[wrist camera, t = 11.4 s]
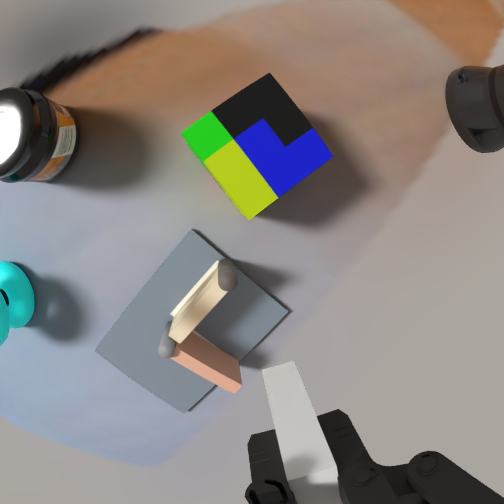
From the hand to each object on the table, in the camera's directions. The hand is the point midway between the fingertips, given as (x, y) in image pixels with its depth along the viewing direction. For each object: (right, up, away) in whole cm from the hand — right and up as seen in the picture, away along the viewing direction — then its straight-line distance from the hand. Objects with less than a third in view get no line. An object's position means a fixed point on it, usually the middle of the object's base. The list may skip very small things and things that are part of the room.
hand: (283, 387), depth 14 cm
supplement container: (-28, +21, +20) cm, 40 cm away
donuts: (-37, 0, +23) cm, 43 cm away
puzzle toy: (-2, +18, +23) cm, 29 cm away
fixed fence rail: (-7, +2, +25) cm, 26 cm away
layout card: (-10, -4, +26) cm, 28 cm away
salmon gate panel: (-8, -6, +26) cm, 27 cm away
